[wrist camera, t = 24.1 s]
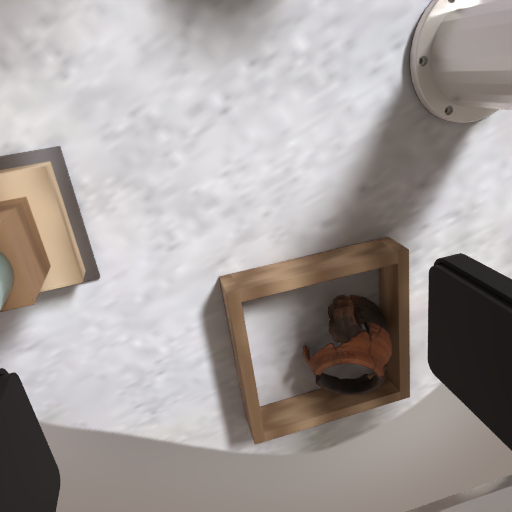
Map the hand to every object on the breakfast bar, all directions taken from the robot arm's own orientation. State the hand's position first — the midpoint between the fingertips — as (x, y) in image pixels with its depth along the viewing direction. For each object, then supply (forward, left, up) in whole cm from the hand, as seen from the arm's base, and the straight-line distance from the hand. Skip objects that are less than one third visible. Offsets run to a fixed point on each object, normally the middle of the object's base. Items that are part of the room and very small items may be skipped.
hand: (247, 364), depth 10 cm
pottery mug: (-15, +22, -33) cm, 42 cm away
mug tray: (-12, +22, -32) cm, 41 cm away
